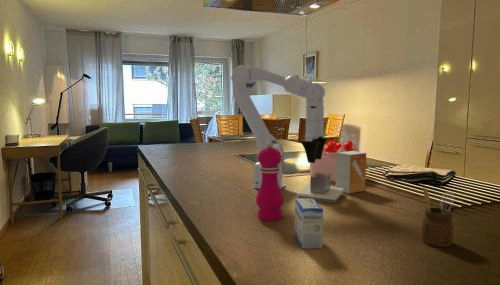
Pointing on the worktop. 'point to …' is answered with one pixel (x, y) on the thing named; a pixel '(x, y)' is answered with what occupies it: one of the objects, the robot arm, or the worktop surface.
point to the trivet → (328, 197)
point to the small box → (351, 171)
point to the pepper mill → (269, 185)
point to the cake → (330, 158)
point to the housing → (320, 183)
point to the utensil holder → (437, 224)
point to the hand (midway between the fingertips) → (314, 160)
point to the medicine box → (308, 223)
